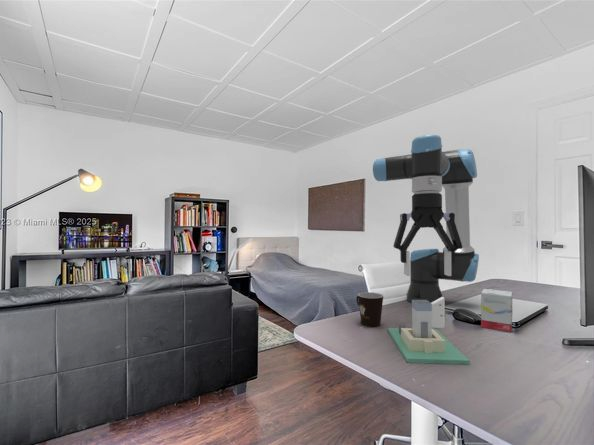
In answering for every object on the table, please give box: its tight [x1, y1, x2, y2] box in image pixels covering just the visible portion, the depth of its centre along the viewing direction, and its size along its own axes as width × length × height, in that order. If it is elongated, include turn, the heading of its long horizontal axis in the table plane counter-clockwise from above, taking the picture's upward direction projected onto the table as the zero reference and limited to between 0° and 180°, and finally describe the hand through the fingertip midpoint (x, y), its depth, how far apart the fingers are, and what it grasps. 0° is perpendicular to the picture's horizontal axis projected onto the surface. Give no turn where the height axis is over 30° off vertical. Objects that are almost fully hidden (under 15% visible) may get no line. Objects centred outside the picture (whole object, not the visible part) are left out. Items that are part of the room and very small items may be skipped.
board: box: [387, 323, 470, 365], centre depth 85 cm, size 22×15×4 cm
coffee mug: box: [356, 291, 384, 328], centre depth 105 cm, size 12×9×10 cm
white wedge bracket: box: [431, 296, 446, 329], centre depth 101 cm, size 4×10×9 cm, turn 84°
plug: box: [411, 300, 433, 338], centre depth 83 cm, size 4×4×12 cm
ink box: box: [480, 288, 513, 333], centre depth 100 cm, size 9×9×12 cm
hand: (427, 275), depth 81 cm, fingers open, 10 cm apart
